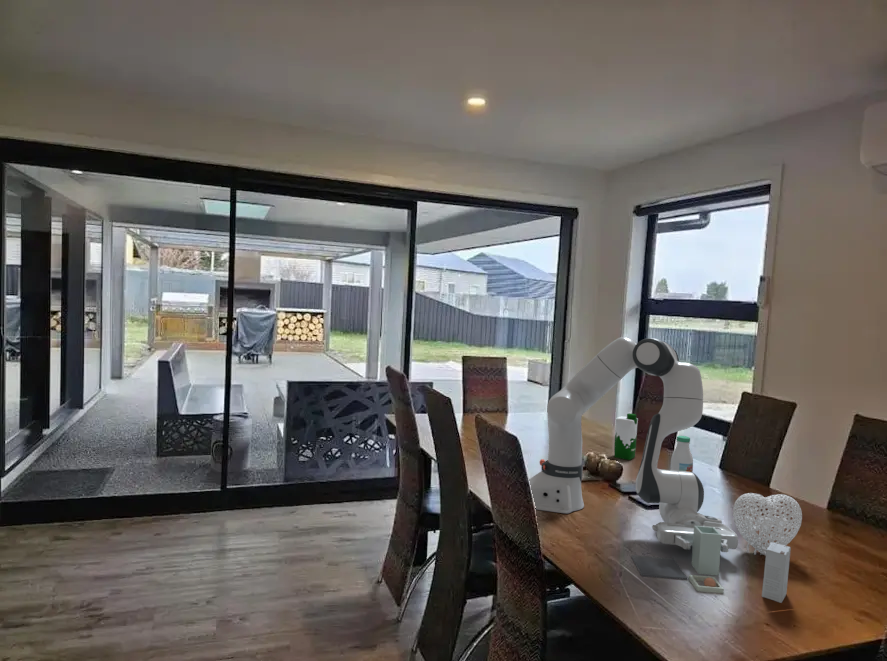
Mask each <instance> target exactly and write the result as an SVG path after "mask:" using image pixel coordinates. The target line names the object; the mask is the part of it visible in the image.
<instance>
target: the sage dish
mask: <svg viewBox="0 0 887 661" xmlns="http://www.w3.org/2000/svg"><path fill="white" fill-rule="evenodd" d="M706 578H712V579H713V580H714V581H715V583H716V586H715V587H710V586H705V585H699V583H698V582H704V580H705V579H706ZM688 580H689V582H690V583H691V584H692V586H693V587H694V589H695V590H696V591H697V592H705V593H717V594H724V593H725V588H724V587H723V586H722V585H721V584H720V582H719V581H718V580H717V578H716V577H715V576H710V575H709V576H708V575H699V574H698V575H695V574H688Z"/></svg>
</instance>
